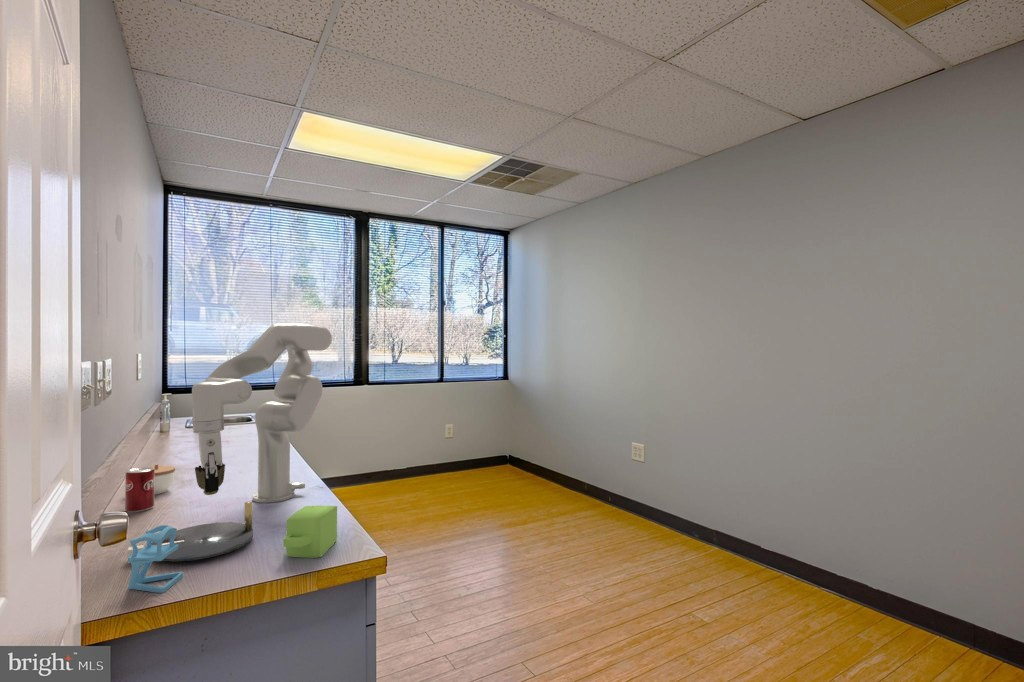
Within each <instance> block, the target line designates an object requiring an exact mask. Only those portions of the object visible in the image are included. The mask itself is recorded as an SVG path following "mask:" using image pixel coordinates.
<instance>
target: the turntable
mask: <svg viewBox="0 0 1024 682" xmlns="http://www.w3.org/2000/svg"><path fill="white" fill-rule="evenodd" d="M253 535H254V529H253V501H245V502H244V523H240V522H231V521H230V522H225V521H224V522H211V523H204V524H199V525H197V524H196V525H193V526H189V527H184V528H180V529H177V531H176V535H175V538H174V543H175V545H179V549H177V550H176V551H174V552H172V553H171V554H169V555H168V556H167V557H166V558H165V559H163V560H162V561H161V562H163V561H164V562H189V561H197V560H198V561H199V560H202V559H204V560H205V559H209V558H213V557H217V556H220V555H223V554H227V553H231V552H233V551H235V550H237V549H240V548H242V547H243V546H245V545H247V544H248V543H249V542H250V541H251V540H252V539H253V537H254V536H253ZM171 536H172V535H171ZM171 536H169V537H167V538H166V539H165V540H164V541H163V542H162V545H170V538H171ZM152 545H158V544H157V543H154V542H152ZM162 545H161V546H162Z"/></svg>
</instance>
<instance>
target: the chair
mask: <svg viewBox="0 0 1024 682" xmlns="http://www.w3.org/2000/svg"><path fill="white" fill-rule="evenodd" d="M177 530H178V528H176V527H173V526H171V525H164V524H163V525H159V526H156V527H154V528H152V529H150V530H145V531H144V532H145V534H143V535H140V536H139V537H137V538H134V539H129V542H130V544H131V547H133V554H132V555H131V556H130V557H128V556H127V563H128V562H130V563H129V564H131V570H130V572H131V573H130V577H129V581H128V587H127V589H128V590H135V591H136V590H137V591H144V592H150V593H157V594H160V593H161V594H163V593H165V592H166V591H168V590H169V589H170V588H171V587H172V586H173V585H175V584H176V583H177V582H179V580H181V579H183V577H184V572H183V571H177V572H171V573H169V572H168V573H162V574H156V575H150V576H146V575H147V573H148V571H149V570H150V567H151V565H152V563H153V562H163V561H162V560H163V559H165V558H166V557H167V556H168V555H169V554H171V553H172V552H174V551H176V550H177V549H179V545H175V543H174V538H175V535H176V531H177ZM171 535H172V536H171ZM169 536H171V538H170V545H162V542H163V541H164V540H165V539H166V538H167V537H169ZM145 541H146V546H144V548H143V549H141V550H140V551H139V552H138V548H137V546H138V545H137V544H139V543H140V542H145ZM152 542H154V543H157V544H158V545H152ZM161 545H162V546H161ZM169 579H170V580H169ZM164 580H169V581H168V582H166V584H164V585H163V586H158V585H152V584H146V583H149V582H151V583H152V582H157V581H164Z"/></svg>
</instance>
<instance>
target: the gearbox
mask: <svg viewBox="0 0 1024 682" xmlns="http://www.w3.org/2000/svg"><path fill="white" fill-rule="evenodd" d="M285 529H286V534H285V535H286V536H285V537H284V538H283V543H282V545H283V548H285V549H286V550H285V552H286V553H285V554H286V555H285V556H286V557H293V558H306V559H307V558H308V559H309V558H311V559H313V558H316V559H318V558H321V557H323V556H324V555H325V554H326V553H327V552H328V551H329V550H330V549H331V548H332V547H331V546H334V544H335V543H336V542H337V541H338V506H336V505H305V506H303V507H302V508H300V509H299V510H297V511H296V512H295V513H293V514H292V515H290V516H289V517H288V518H287V519H286V528H285ZM336 540H337V541H336ZM335 541H336V542H335ZM334 542H335V543H334ZM330 547H331V548H330ZM329 548H330V549H329ZM328 549H329V550H328ZM327 550H328V551H327ZM326 551H327V552H326ZM325 552H326V553H325ZM324 553H325V554H324ZM323 554H324V555H323Z"/></svg>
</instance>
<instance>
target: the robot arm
mask: <svg viewBox="0 0 1024 682" xmlns="http://www.w3.org/2000/svg"><path fill="white" fill-rule="evenodd" d="M332 340H333V337H332V333H331V332H330V330H329V329H328V328H327V327H325V326H319V325H312V324H306V323H297V322H296V323H295V322H293V323H283V322H282V323H275V324H272V325H270V326H269V327H268V328H267V329H266V330H265V331H263V333H262V334H261V335H260V336H259V338H258V339H256V340H255V341H254V342H253V344H252V345H250V347H249V348H248V349H247V350H245V351H243V352H241V353H239V354H238V355H236V356H233V357H232V358H230V359H228V360H227V361H225V362H223V363H222V364H220V365H219V366H218V367H216V368H215V369H214V370H213V371H212V372H211V373H210V374H209V375H208V376H207V377H206V379H205V380H204V381H201V382H196V383H195V384H193V385H192V388H191V405H192V425H193V426H192V431H193V434H198V435H197V436H198V450H199V451H198V452H199V458H200V464H201V467H202V468H205V472H206V478H205V492H206V493H208V492H213V491H218V492H219V491H220V489H219V487H220V486H219V485H218V476H217V465H220V466H222V465H223V464H224V463H223V448H222V447H223V446H222V436H221V435H222V434H221V432H222V431H224V430H225V417H224V416H225V415H224V406H226V405H240V404H243V403H245V402H247V401H248V400H249V399H250V398H251V395H252V394H253V388H252V385H251V383H250V382H248V381H246V380H245V379H243V378H245V377H247V376H250V375H251V376H252V375H254V374H258V373H261V372H263V371H266V370H268V369H269V368H270V367H272V366H273V365H274V364H275V362H276V361H277V360H278V359H279V357H280V356H281V355H282V354H283V353H284V352H285V351H287V356H288V357H287V358H288V359H287V363H286V365H285V368H284V369H283V371H282V372H281V374H280V376H279V379H278V380H277V382H276V384H275V387H274V389H273V395H274V397H275V399H277V400H279V401H275V400H274V401H267V402H264V403H262V404H260V405H259V406H258V407H257V408H256V410H255V415H254V421H255V427H256V432H257V442H258V444H257V445H258V446H257V447H258V450H257V459H258V460H257V492H255V493H254V494H253V495H252V502H256V503H260V504H261V503H262V504H265V503H266V504H270V503H271V504H272V503H279V502H284V501H287V500H290V499H292V498H293V497H294V496H295V495H296V494H295V491H296V490H302V489H305V488H306V483H305V482H297V481H296V482H293V483H292V481H291V480H290V479H291V478H290V477H291V474H290V473H291V465H290V464H291V461H290V460H291V441H290V437H289V435H288V433H287V432H289V433H298V432H301V431H303V430H305V429H306V427H307V426H308V425H309V424H310V422H311V419H312V417H313V415H314V414H315V411H316V409H317V407H318V405H319V402H320V401H321V398H322V395H323V383H322V381H321V379H320V378H319V377H318V376H315V375H312V374H311V373H312V371H313V366H314V365H313V361H312V359H311V357H310V355H309V352H308V351H313V352H314V351H316V352H317V351H318V352H319V351H320V352H321V351H325V350H327V349H328V348H329V347H330V346H331V344H332ZM222 463H223V464H222ZM207 465H209V466H208V467H207ZM208 469H209V470H208Z"/></svg>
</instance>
